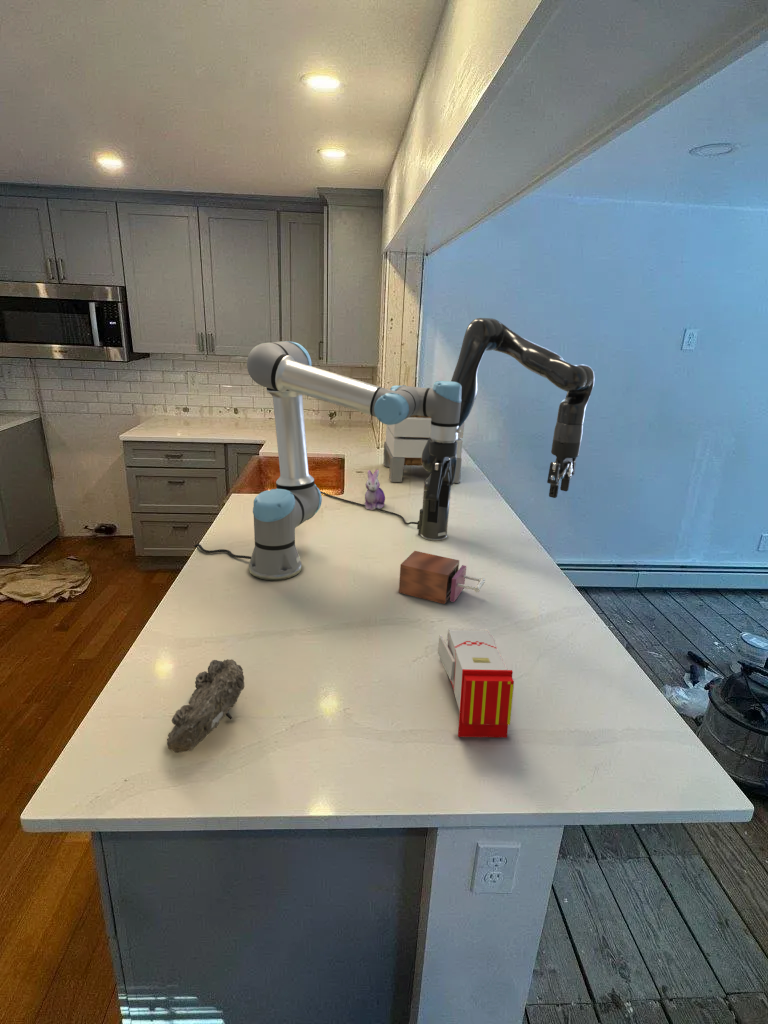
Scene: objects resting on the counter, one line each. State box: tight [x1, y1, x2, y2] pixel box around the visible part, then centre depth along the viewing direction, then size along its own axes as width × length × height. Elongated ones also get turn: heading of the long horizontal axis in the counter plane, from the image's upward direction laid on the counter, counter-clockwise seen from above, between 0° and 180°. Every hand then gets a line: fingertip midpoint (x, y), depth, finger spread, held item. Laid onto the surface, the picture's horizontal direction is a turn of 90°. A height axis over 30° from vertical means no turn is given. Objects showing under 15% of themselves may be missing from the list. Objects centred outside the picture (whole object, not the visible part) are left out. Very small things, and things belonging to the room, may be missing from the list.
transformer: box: [383, 384, 465, 484], centre depth 268 cm, size 34×33×41 cm
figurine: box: [363, 468, 386, 511], centre depth 223 cm, size 9×10×15 cm
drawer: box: [447, 564, 487, 603], centre depth 157 cm, size 18×10×7 cm, turn 66°
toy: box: [437, 628, 515, 738], centre depth 117 cm, size 12×13×30 cm
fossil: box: [166, 658, 245, 754], centre depth 106 cm, size 22×10×15 cm
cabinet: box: [398, 550, 460, 605], centre depth 159 cm, size 14×11×9 cm
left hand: (437, 514), depth 160 cm, fingers open, 13 cm apart
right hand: (558, 493), depth 163 cm, fingers open, 8 cm apart
